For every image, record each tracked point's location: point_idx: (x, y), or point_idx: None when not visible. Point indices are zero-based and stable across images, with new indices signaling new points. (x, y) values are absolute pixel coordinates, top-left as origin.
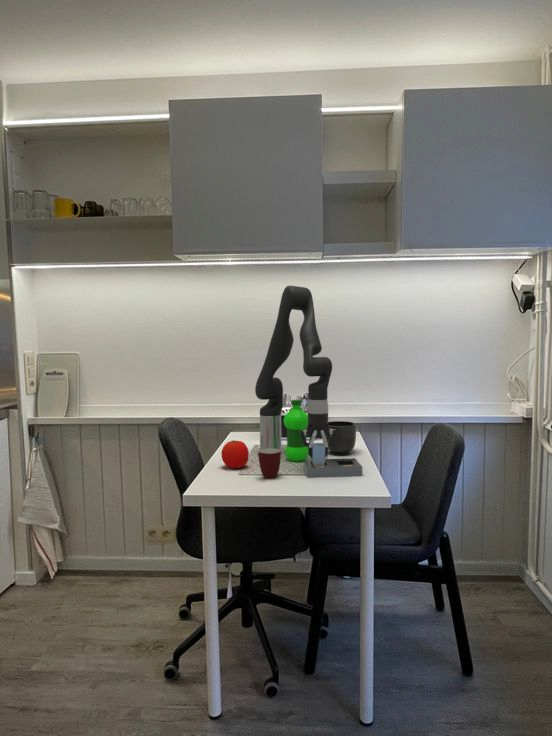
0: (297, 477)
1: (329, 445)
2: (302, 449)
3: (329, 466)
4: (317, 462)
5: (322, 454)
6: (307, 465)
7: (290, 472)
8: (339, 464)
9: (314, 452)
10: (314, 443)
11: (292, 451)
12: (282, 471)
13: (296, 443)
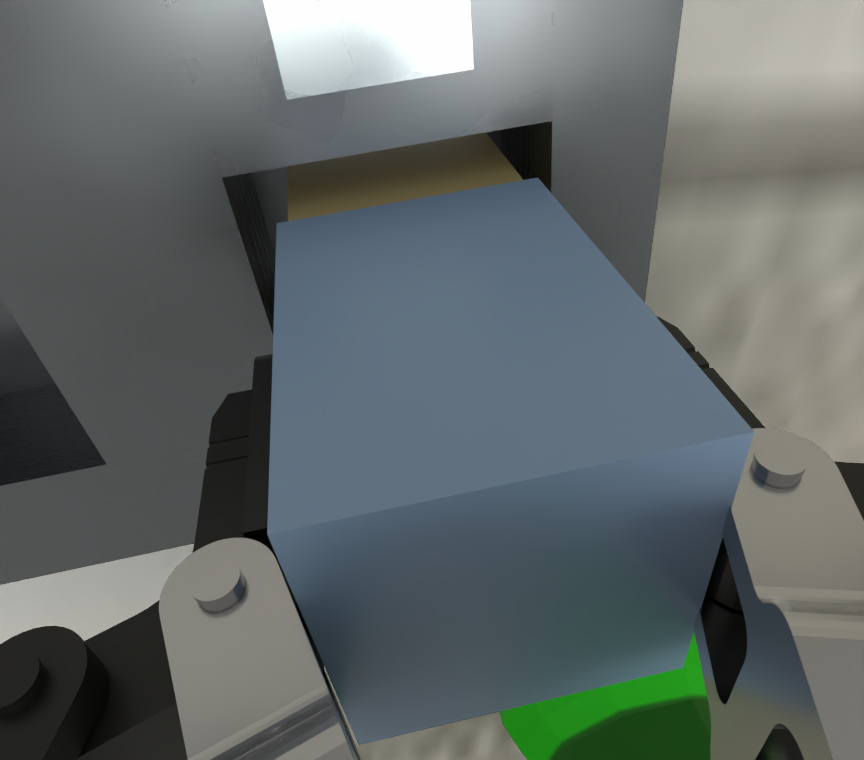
0: (726, 2)
1: (125, 636)
2: (594, 692)
3: (152, 60)
4: (445, 199)
5: (347, 314)
6: (637, 130)
7: (744, 257)
8: (66, 431)
9: (592, 306)
10: (605, 664)
11: (695, 645)
12: (820, 288)
13: (694, 753)
